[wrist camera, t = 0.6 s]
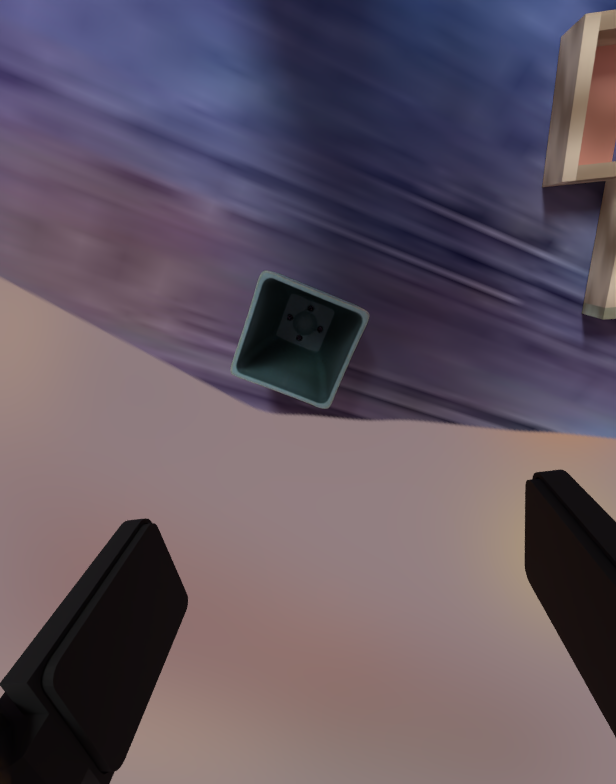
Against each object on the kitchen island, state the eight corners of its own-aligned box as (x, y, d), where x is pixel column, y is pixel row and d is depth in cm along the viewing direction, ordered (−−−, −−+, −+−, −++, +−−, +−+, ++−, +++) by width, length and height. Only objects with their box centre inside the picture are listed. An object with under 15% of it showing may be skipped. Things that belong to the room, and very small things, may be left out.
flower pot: (364, 296, 36) (372, 312, 28) (330, 376, 39) (328, 412, 31) (279, 262, 35) (261, 268, 27) (251, 346, 39) (228, 373, 30)
